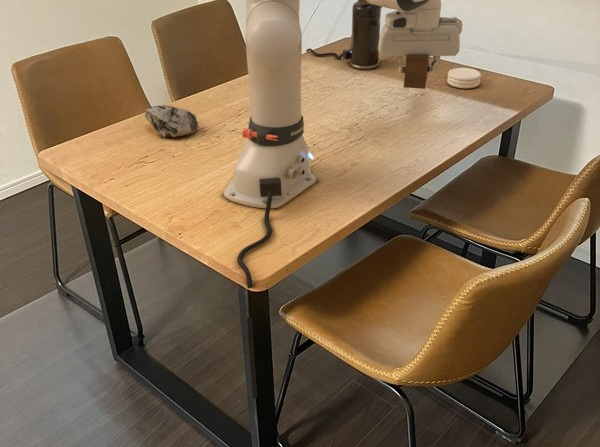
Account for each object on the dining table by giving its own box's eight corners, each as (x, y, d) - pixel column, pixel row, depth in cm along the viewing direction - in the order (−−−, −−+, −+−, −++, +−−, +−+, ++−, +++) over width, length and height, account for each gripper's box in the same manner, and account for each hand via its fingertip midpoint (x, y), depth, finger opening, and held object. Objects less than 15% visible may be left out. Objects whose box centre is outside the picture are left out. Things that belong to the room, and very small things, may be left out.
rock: (203, 130, 165) (200, 105, 161) (171, 142, 159) (167, 116, 155) (172, 117, 174) (168, 92, 171) (140, 127, 168) (136, 102, 165)
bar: (425, 89, 158) (428, 57, 154) (403, 87, 159) (406, 56, 155) (430, 58, 179) (433, 29, 175) (411, 57, 180) (413, 28, 176)
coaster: (442, 78, 197) (444, 68, 195) (473, 77, 198) (474, 66, 196) (452, 89, 189) (453, 78, 187) (484, 88, 189) (486, 77, 188)
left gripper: (460, 14, 156) (453, 68, 163) (379, 14, 155) (375, 68, 163) (466, 20, 150) (459, 76, 158) (382, 21, 150) (378, 76, 157)
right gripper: (463, -69, 165) (455, -5, 174) (409, -70, 167) (404, -7, 176) (464, -64, 159) (456, 1, 168) (408, -65, 161) (403, -1, 170)
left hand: (416, 72), depth 160 cm, fingers closed on bar, 6 cm apart
